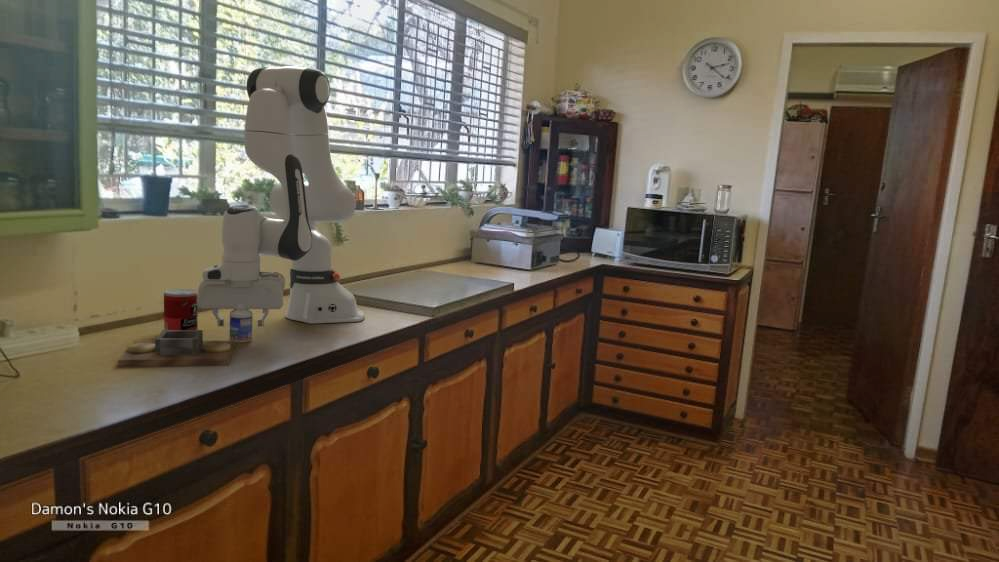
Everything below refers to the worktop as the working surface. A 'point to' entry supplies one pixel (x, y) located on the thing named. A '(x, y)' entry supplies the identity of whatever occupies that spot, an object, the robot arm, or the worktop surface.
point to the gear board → (177, 350)
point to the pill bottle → (241, 324)
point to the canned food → (180, 309)
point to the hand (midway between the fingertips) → (241, 326)
